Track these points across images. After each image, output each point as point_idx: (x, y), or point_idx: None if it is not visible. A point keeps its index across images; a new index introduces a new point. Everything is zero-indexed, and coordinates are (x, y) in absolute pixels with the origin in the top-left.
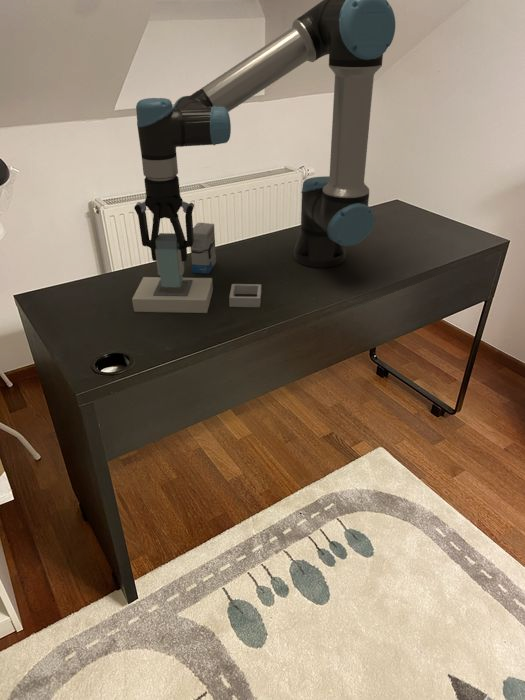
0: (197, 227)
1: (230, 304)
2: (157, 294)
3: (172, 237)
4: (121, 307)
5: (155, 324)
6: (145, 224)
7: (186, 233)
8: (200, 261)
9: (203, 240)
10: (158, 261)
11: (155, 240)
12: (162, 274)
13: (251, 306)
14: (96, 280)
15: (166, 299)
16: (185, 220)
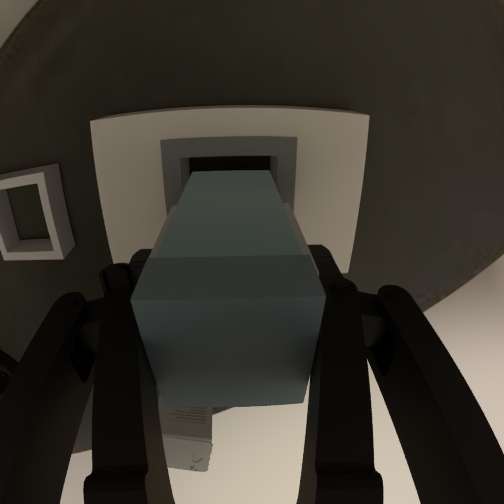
0: (199, 458)
1: (52, 165)
2: (281, 140)
3: (188, 360)
4: (390, 141)
5: (265, 30)
6: (426, 427)
7: (50, 366)
8: None
9: (165, 417)
10: None
11: (325, 322)
12: (264, 188)
13: (11, 172)
14: (445, 284)
15: (238, 109)
16: (13, 464)
